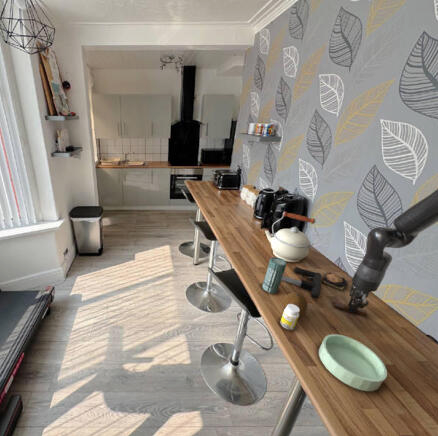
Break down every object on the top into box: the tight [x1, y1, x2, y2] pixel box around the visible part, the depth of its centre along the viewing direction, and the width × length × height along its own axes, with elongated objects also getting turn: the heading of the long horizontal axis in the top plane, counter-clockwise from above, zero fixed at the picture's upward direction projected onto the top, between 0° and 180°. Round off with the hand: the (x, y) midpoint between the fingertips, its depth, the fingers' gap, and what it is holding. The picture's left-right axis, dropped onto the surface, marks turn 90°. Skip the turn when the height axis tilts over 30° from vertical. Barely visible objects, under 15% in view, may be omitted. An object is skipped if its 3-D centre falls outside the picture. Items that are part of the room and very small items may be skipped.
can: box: [261, 256, 288, 295], centre depth 103 cm, size 6×6×15 cm
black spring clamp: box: [281, 266, 324, 300], centre depth 111 cm, size 3×20×16 cm
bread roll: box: [322, 272, 348, 291], centre depth 112 cm, size 11×8×4 cm
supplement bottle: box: [279, 304, 300, 330], centre depth 86 cm, size 5×5×8 cm
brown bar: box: [333, 301, 367, 317], centre depth 96 cm, size 10×3×2 cm, turn 61°
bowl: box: [318, 333, 388, 392], centre depth 73 cm, size 15×15×4 cm
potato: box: [283, 291, 308, 319], centre depth 93 cm, size 8×12×8 cm, turn 155°
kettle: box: [264, 211, 319, 263], centre depth 129 cm, size 25×18×25 cm
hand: (350, 310), depth 96 cm, fingers closed on brown bar, 1 cm apart
